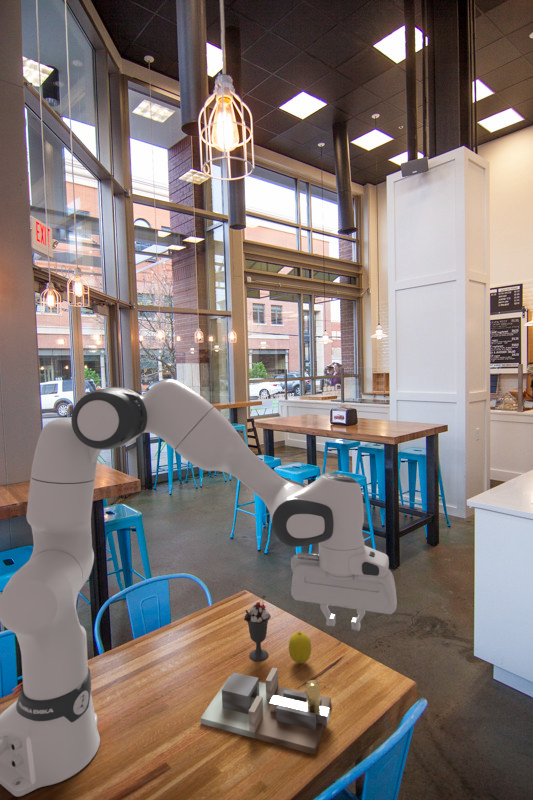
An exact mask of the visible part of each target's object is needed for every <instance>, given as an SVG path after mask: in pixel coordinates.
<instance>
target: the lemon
mask: <svg viewBox="0 0 533 800" xmlns="http://www.w3.org/2000/svg"><path fill="white" fill-rule="evenodd" d="M288 653H289V656H290V658H291V660H292V661H293V662H295V663H297V664H298V665H302V664H304V663H306V662H307V661H308V660H309V659H310V657H311V654H312V644H311V639H310V638H309V636H308V634H306V633H305V632H302V631H296V632H295V633H293V634H292V635H291V636H290V639H289V641H288Z"/></svg>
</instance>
